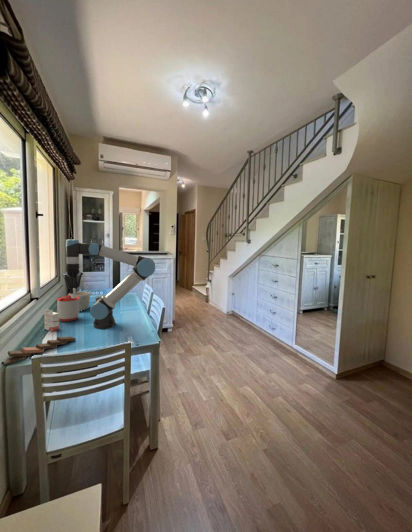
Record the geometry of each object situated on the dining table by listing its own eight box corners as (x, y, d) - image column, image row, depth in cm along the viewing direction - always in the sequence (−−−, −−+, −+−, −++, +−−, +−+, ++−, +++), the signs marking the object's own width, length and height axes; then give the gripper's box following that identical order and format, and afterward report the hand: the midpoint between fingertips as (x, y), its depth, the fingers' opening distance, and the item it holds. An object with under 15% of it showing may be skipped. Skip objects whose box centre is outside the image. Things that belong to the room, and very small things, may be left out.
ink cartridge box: (59, 329, 172) (59, 308, 170) (53, 331, 167) (52, 310, 165) (51, 327, 175) (50, 307, 173) (44, 329, 170) (43, 308, 168)
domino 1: (28, 350, 135) (8, 350, 128) (31, 352, 132) (11, 353, 125) (27, 353, 135) (7, 354, 128) (30, 355, 132) (10, 356, 125)
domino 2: (21, 353, 132) (1, 360, 125) (26, 356, 130) (5, 363, 122) (22, 356, 133) (1, 363, 125) (26, 359, 130) (5, 366, 122)
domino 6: (70, 336, 156) (57, 337, 149) (75, 338, 154) (62, 338, 146) (70, 339, 156) (56, 339, 148) (75, 340, 154) (61, 341, 146)
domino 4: (52, 342, 146) (36, 344, 139) (57, 344, 144) (41, 346, 136) (51, 345, 146) (35, 347, 138) (56, 347, 144) (40, 349, 136)
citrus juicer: (81, 315, 203) (81, 291, 201) (77, 322, 187) (77, 296, 185) (60, 316, 198) (60, 292, 196) (54, 323, 182) (53, 297, 180)
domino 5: (62, 339, 152) (47, 340, 144) (67, 341, 149) (52, 342, 141) (61, 342, 151) (46, 343, 144) (66, 343, 149) (51, 345, 141)
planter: (69, 308, 220) (69, 291, 219) (90, 306, 227) (90, 290, 226) (67, 313, 205) (67, 296, 203) (90, 312, 212) (89, 294, 211)
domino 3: (39, 347, 140) (22, 347, 133) (43, 349, 137) (25, 350, 130) (39, 350, 140) (21, 350, 133) (42, 352, 137) (24, 353, 130)
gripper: (78, 262, 168) (78, 295, 171) (59, 263, 157) (60, 299, 159) (85, 262, 165) (85, 297, 167) (66, 264, 153) (67, 300, 156)
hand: (73, 297), depth 163 cm, fingers closed
